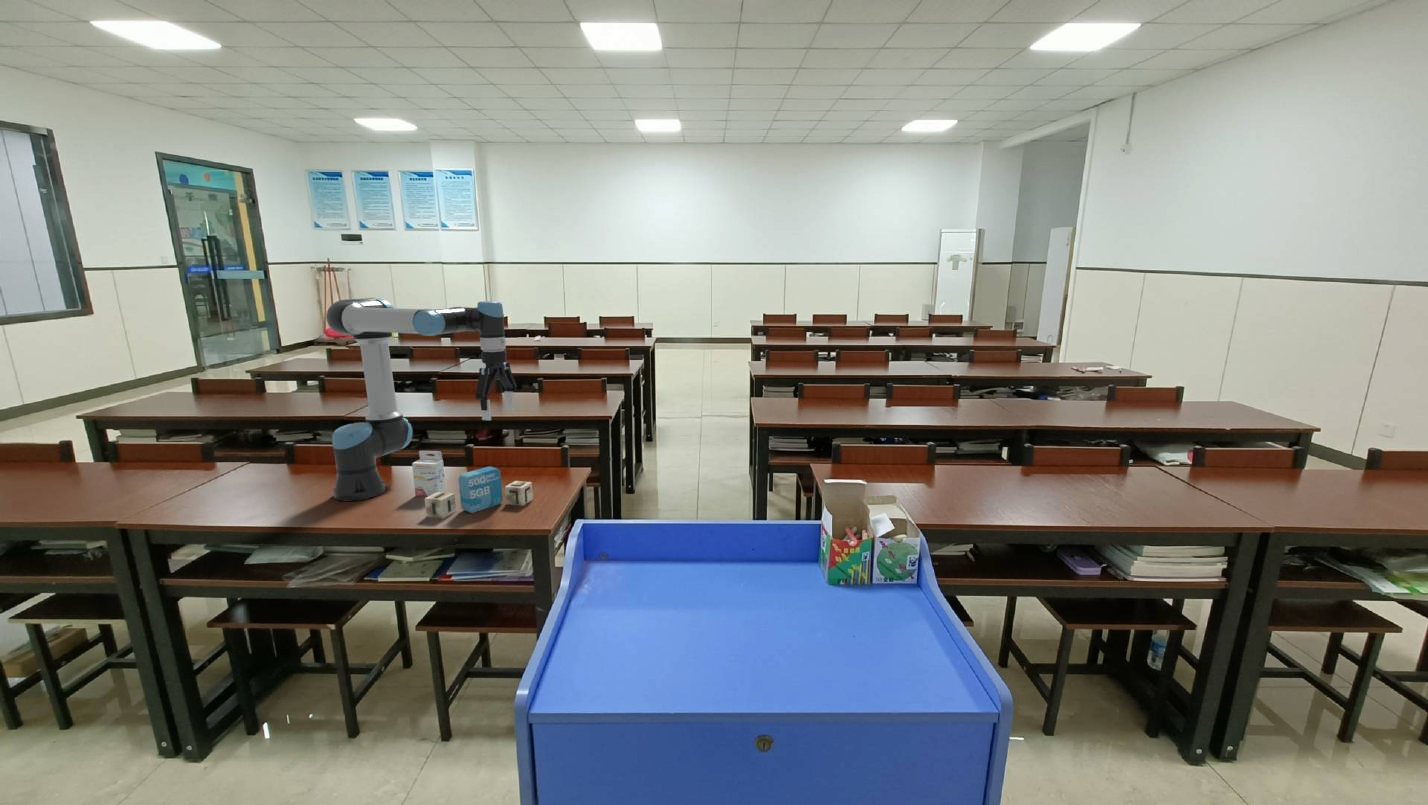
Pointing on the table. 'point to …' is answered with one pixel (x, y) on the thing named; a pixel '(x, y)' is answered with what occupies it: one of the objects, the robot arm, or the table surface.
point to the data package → (480, 489)
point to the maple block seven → (519, 493)
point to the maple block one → (440, 505)
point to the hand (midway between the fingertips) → (498, 415)
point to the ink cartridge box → (429, 474)
